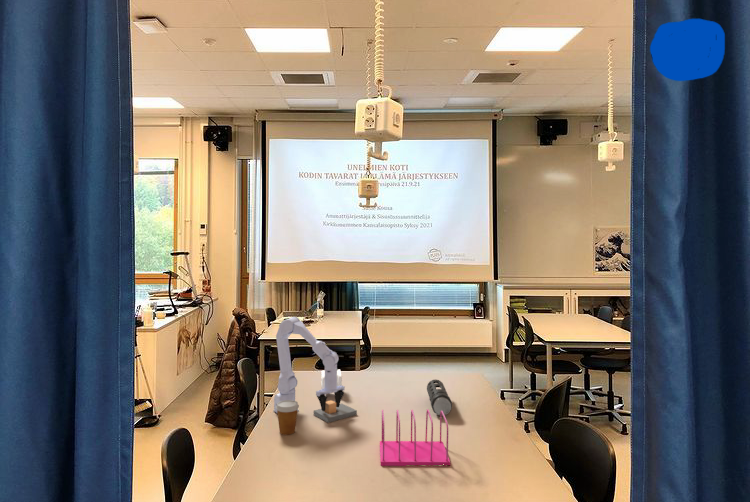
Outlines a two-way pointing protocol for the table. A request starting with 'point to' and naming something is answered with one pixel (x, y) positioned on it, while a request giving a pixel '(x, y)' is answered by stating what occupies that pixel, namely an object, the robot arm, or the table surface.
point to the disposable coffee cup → (287, 416)
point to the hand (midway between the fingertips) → (330, 408)
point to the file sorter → (414, 447)
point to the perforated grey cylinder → (439, 397)
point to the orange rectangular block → (330, 407)
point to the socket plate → (336, 413)
